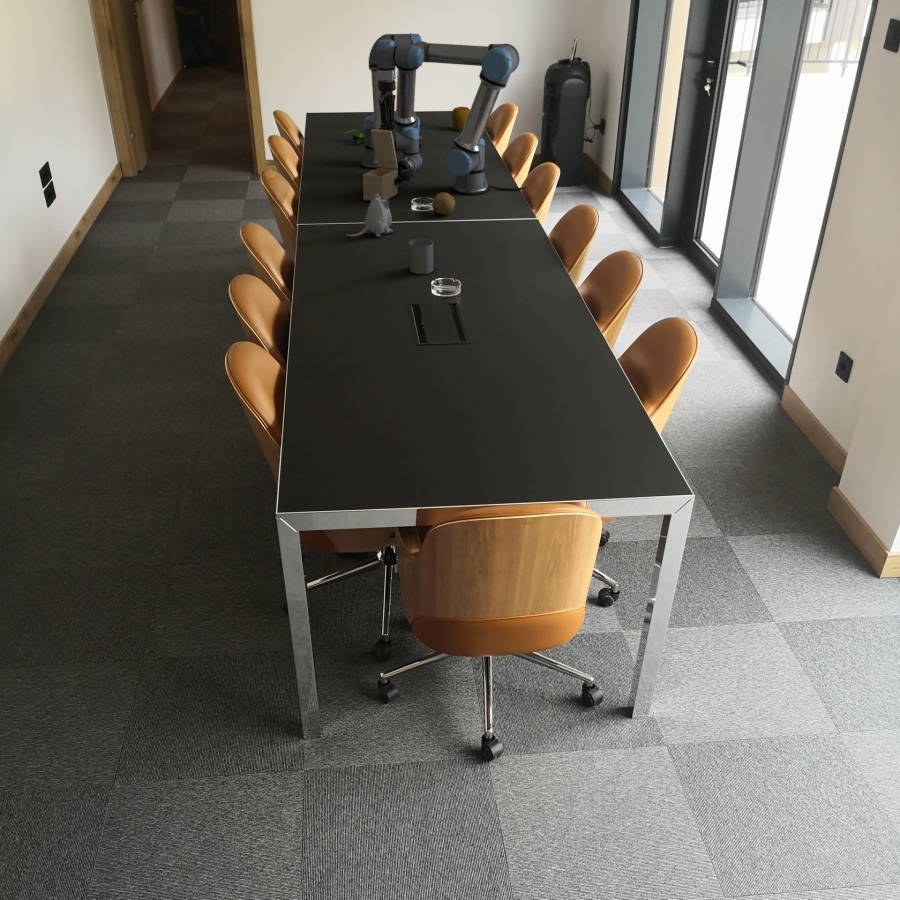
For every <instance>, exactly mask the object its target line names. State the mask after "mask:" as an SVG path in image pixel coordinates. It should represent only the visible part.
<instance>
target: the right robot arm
mask: <svg viewBox="0 0 900 900" xmlns="http://www.w3.org/2000/svg"><path fill="white" fill-rule="evenodd" d="M376 53H377V69H378V71H377V73H378V80H379V81H378V90H379V91H381V92H382V95H381V99H379V104H380V113H381V123H384V130H389V131H391V130H392V129H390V124H391V125H392V122H394V121H395V120H393V119H394V115H395V110H396V97H397V95H396V94H394V91H397V74H396V73H397V72H396V66H408V67H419V68H420V67H422V65H423V64H424V63H434V64H447V65H460V66H462V65H463V66H476V67H481V70H480V72H479V76H478V77H479V80H480V83H479V86H478V88H477V91H476V94H475V96H474V99H473V102H472V104H471V107H470V108H469V109H470V112H469V115H468V117H467V120H466V122H465V125H464V128H463V130H462V131H461V133H460V135H459V136H457V137H455V139H454V142H453V144H452V146H451V149H450V151H448V152H447V154H446V156H445V160H444V161H445V162H444V163H445V167H446V169H447V170H448V172H449V173H450V174H451V175H453V176H455V177H456V178H455V181H454V183H453V191H454V192H456V193H458V194H462V195H480V194H485V193H487V192H488V189H495V190H500V191H501V190H502V191H521V190H527V186H522V187H513V188H512V187H510V188H509V187H498V186H493V185H488V181H487V178H486V174H485V154H486V153H485V149H486V143H485V142H486V141H485V139H484V138H483V135H484V133H485V130H486V127H487V125H488V122H489V120H490V117H491V115H492V112H493V110H494V108H495V105H496V102H497V100H498V98H499V96H500V95H499V94H500V92H501V90H503V89H505V88H507V84H508V82H509V79H510V77H511V74H513V73H514V72H515V71H516V70H517V69H518V67H519V65H520V57H521V56H520V53H519V51H518V49H517V48H516V46H514V45H512V44H511V43H489V44H488V45H487V46H486V45H472V44H470V45H468V44H456V43H455V44H453V43H435V42H426V41H425V40H422V41H419V42H416V43H415V44H412V45H410V46H395V42H394V40H388V39H385V40H379V41H378V42H377V52H376ZM392 136H393V132H392Z"/></svg>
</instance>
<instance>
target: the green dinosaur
mask: <svg viewBox="0 0 900 900" xmlns="http://www.w3.org/2000/svg"><path fill="white" fill-rule="evenodd" d="M351 132H352V134H351V136H352V140H353V141H355V142H351V141H347V140H344V139H343V142H345V143H346V144H348V145H352V146H359V145H360V144H361V143H365V140H364V132H362V131H361V130H360V129H349V130H346V131H345V132H344V134H347V133H351ZM353 132H356V133H354V134H353Z"/></svg>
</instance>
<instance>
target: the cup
mask: <svg viewBox="0 0 900 900" xmlns="http://www.w3.org/2000/svg"><path fill="white" fill-rule="evenodd" d="M408 253H409V272H411V273H412V274H416V275H426V274H430V273H432V272H434V241H433V240H431V239H428V238H422V237H421V238H420V237H419V238H414V239H411V240H410V241H409V242H408Z"/></svg>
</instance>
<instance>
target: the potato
mask: <svg viewBox="0 0 900 900" xmlns="http://www.w3.org/2000/svg"><path fill="white" fill-rule="evenodd" d="M455 206H456V200H455V198H454V196H452V195H451V194H449V193H448V192H439V193H437V194H436V195H435V197H434V198H433V200H432V201H431V207H432V209H433V210H434V212H436V213H437V214H439V215H441V216H442V215H449V214H450V213H452V212H453V211H454V209H455Z"/></svg>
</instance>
